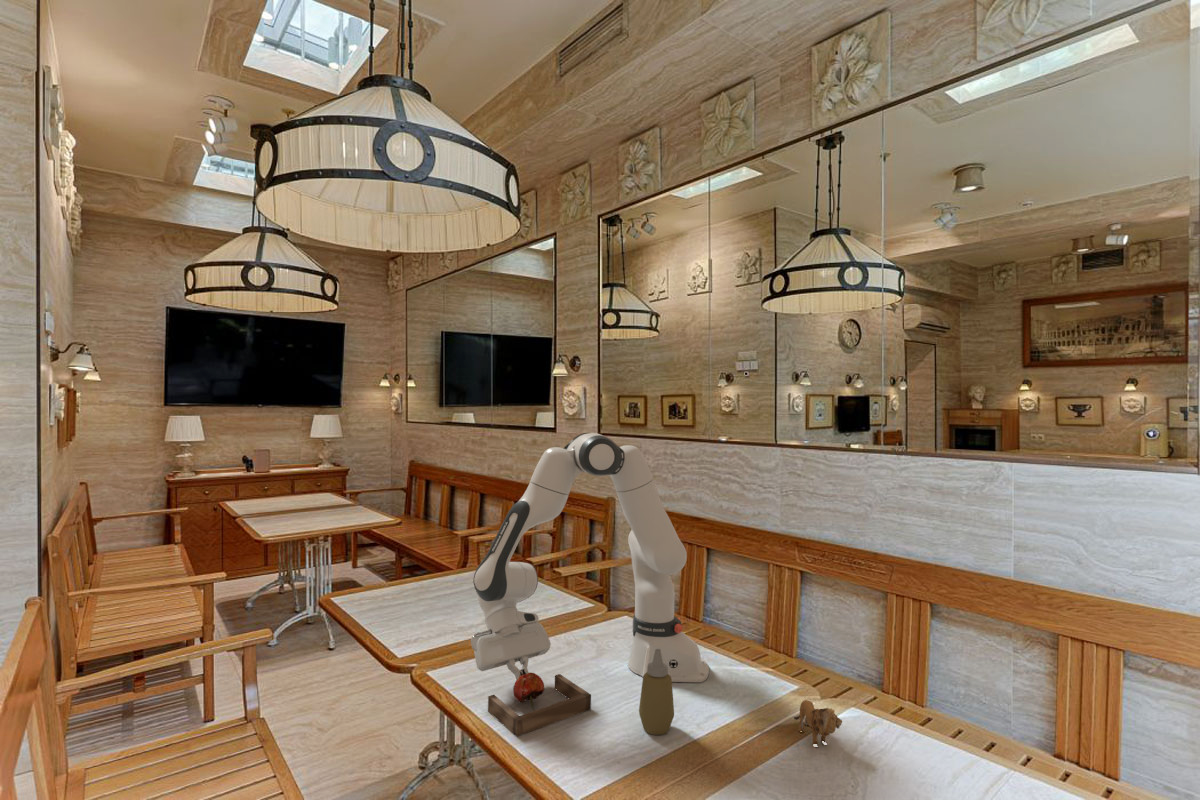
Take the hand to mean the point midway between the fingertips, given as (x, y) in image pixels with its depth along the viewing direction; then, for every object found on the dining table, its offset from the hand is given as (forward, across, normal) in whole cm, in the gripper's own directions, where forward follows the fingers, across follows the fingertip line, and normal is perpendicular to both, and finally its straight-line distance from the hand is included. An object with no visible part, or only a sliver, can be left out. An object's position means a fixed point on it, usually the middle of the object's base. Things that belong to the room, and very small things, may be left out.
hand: (522, 677), depth 150 cm
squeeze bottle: (+25, +17, -18) cm, 35 cm away
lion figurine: (+41, +44, -35) cm, 70 cm away
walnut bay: (+8, 0, -2) cm, 9 cm away
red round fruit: (+6, -1, +1) cm, 6 cm away
